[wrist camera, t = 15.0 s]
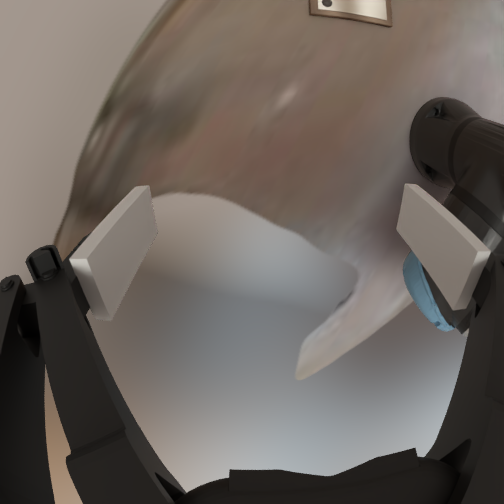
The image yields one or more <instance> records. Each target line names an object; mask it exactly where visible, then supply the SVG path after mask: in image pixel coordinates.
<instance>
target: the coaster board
mask: <svg viewBox="0 0 504 504" xmlns="http://www.w3.org/2000/svg"><path fill="white" fill-rule="evenodd" d="M309 9H310V15H316V16H326V17H335V18H342V19H349V20H355V21H361V22H367V23H372V24H377V25H382V26H386V27H392V10H391V0H309Z"/></svg>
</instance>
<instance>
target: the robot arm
mask: <svg viewBox="0 0 504 504" xmlns="http://www.w3.org/2000/svg"><path fill="white" fill-rule="evenodd" d="M410 149H411V154H412V157H413V160H414V163H415V165H416V167H417V168H418V170H419V171H420V172H421V173H422V174H423V175H424V176H425V177H426V178H427V179H429V180H430V181H431V182H433V183H435V184H436V185H439V186H441V187H446V188H453V189H452V191H451V192H450V194H449V195H448V197H447V198H446V200H445V202H444V203H443V205H441V204H440V203H439V202H438V201H437V200H435V199H434V198H433V197H432V196H430V195H429V194H428V193H427V192H426V191H424V190H423V189H422V188H421V187H419V186H418V185H417V184H406V183H405V186H404V192H403V197H402V203H401V208H400V213H399V218H398V223H397V228H396V230H397V231H398V233H399V234H400V235H401V237H402V238H403V239H404V240H405V242H406V243H407V244H408V246H409V247H410V248H411V252H410V253H409V255H408V256H407V258H406V259H405V261H404V264H403V276H404V281H405V284H406V286H407V289H408V291H409V293H410V295H411V296H412V298H413V300H414V302H415V303H416V305H417V306H418V308H419V309H420V310H421V311H422V313H423V314H424V315H425V317H426V318H427V319H428V320H429V321H430V322H431V323H434V324H435V326H436V327H437V328H438V329H440V330H442V331H449V330H453V329H454V328H455V327H456V328H457V329H458V330H459V331H460V333H461V334H462V335H463V336H468V337H467V342H466V346H465V351H464V355H463V359H462V364H461V367H460V371H459V375H458V378H457V382H456V385H455V389H454V392H453V395H452V398H451V401H450V404H449V407H448V410H447V413H446V415H445V418H444V421H443V424H442V426H441V429H440V431H439V434H438V436H437V439H436V441H435V443H434V445H433V446H432V448H431V449H430V451H429V452H428V453H427V454H426V456H425V457H417V453H416V449H415V448H412V449H409V450H405V451H402V452H398V453H393V454H389V455H385V456H381V457H376V458H374V459H372V460H369V461H367V462H365V463H363V464H361V465H358V466H357V467H354V468H351V469H349V470H346V471H344V472H341V473H339V474H336V475H334V476H318V475H310V474H303V473H295V472H290V471H284V470H231V469H230V472H229V478H224V479H219V480H216V481H213V482H209V483H206V484H204V485H201V486H199V487H197V488H195V489H193V490H191V491H189V492H188V493H186V492H185V490H184V489H183V488H182V487H181V485H180V484H179V483H178V482H177V480H176V479H175V478H174V477H173V475H172V474H171V473H170V472H169V471H168V470H167V468H166V467H165V466H164V464H163V463H162V462H161V460H160V459H159V457H158V456H157V454H156V453H155V451H154V450H153V448H152V447H151V445H150V443H149V442H148V440H147V439H146V437H145V435H144V434H143V432H142V430H141V429H140V427H139V425H138V424H137V422H136V420H135V418H134V417H133V415H132V413H131V411H130V409H129V408H128V406H127V404H126V402H125V400H124V398H123V396H122V394H121V392H120V391H119V389H118V387H117V385H116V383H115V381H114V378H113V376H112V374H111V372H110V370H109V368H108V366H107V364H106V361H105V359H104V357H103V355H102V352H101V350H100V348H99V345H98V343H97V341H96V338H95V336H94V333H93V331H92V328H91V326H90V323H89V321H88V319H87V317H86V314H87V312H88V310H89V308H90V309H91V311H92V313H93V315H94V318H95V319H97V320H108V321H112V319H113V317H114V315H115V313H116V311H117V309H118V307H119V305H120V303H121V301H122V299H123V297H124V295H125V293H126V291H127V289H128V287H129V285H130V283H131V281H132V279H133V278H134V276H135V274H136V272H137V270H138V268H139V266H140V264H141V263H142V261H143V259H144V257H145V255H146V254H147V252H148V250H149V248H150V246H151V245H152V243H153V241H154V239H155V238H156V236H157V234H158V230H157V226H156V220H155V215H154V210H153V205H152V199H151V193H150V187H149V185H147V186H137V187H135V188H134V189H133V190H132V191H131V192H130V193H129V194H128V195H127V196H126V197H125V198H124V199H123V200H122V201H121V202H120V203H119V204H118V205H117V206H116V207H115V208H114V209H113V210H112V211H111V212H110V213H109V214H108V215H107V216H106V218H105V219H104V220H103V221H102V222H101V223H100V224H99V225H98V226H97V227H96V228H95V230H94V231H93V232H91V233H90V234H88V235H87V236H85V237H84V238H83V239H82V240H81V241H80V242H79V243H78V245H77V246H76V247H75V248H74V249H73V251H71V253H70V254H69V255H68V256H67V257H66V259H65V260H64V261H63V262H62V260H61V258H60V255H59V252H58V250H57V248H56V246H54V245H46V246H44V247H40V248H39V249H37V250H35V251H34V252H32V253H31V254H30V255H29V256H28V258H27V259H26V264H27V267H28V269H29V271H30V273H31V276H32V278H33V280H34V283H31V284H26V285H24V284H23V282H22V280H21V278H20V277H19V275H12V276H9V277H6V278H4V279H3V280H2V281H1V282H0V504H55V501H54V494H53V489H52V483H51V477H50V470H49V463H48V455H47V444H46V432H45V408H44V383H45V364H46V369H47V373H48V377H49V382H50V386H51V390H52V393H53V397H54V401H55V404H56V408H57V411H58V414H59V417H60V420H61V423H62V426H63V429H64V432H65V435H66V438H67V440H68V443H69V446H70V449H71V454H70V455H68V456H67V457H66V465H67V468H68V471H69V474H70V476H71V479H72V481H73V483H74V486H75V488H76V489H77V492H78V494H79V496H80V498H81V500H82V502H83V504H504V125H502V124H499V123H496V122H494V121H491V120H488V119H484V118H482V117H481V116H480V115H479V114H477V113H476V112H475V111H474V110H473V109H472V108H470V107H469V106H468V105H467V104H465V103H463V102H461V101H459V100H456V99H452V98H447V97H440V98H435V99H433V100H430V101H429V102H427V103H426V104H425V105H424V106H423V107H422V108H421V109H420V110H419V111H418V113H417V115H416V116H415V119H414V121H413V124H412V127H411V132H410Z"/></svg>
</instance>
